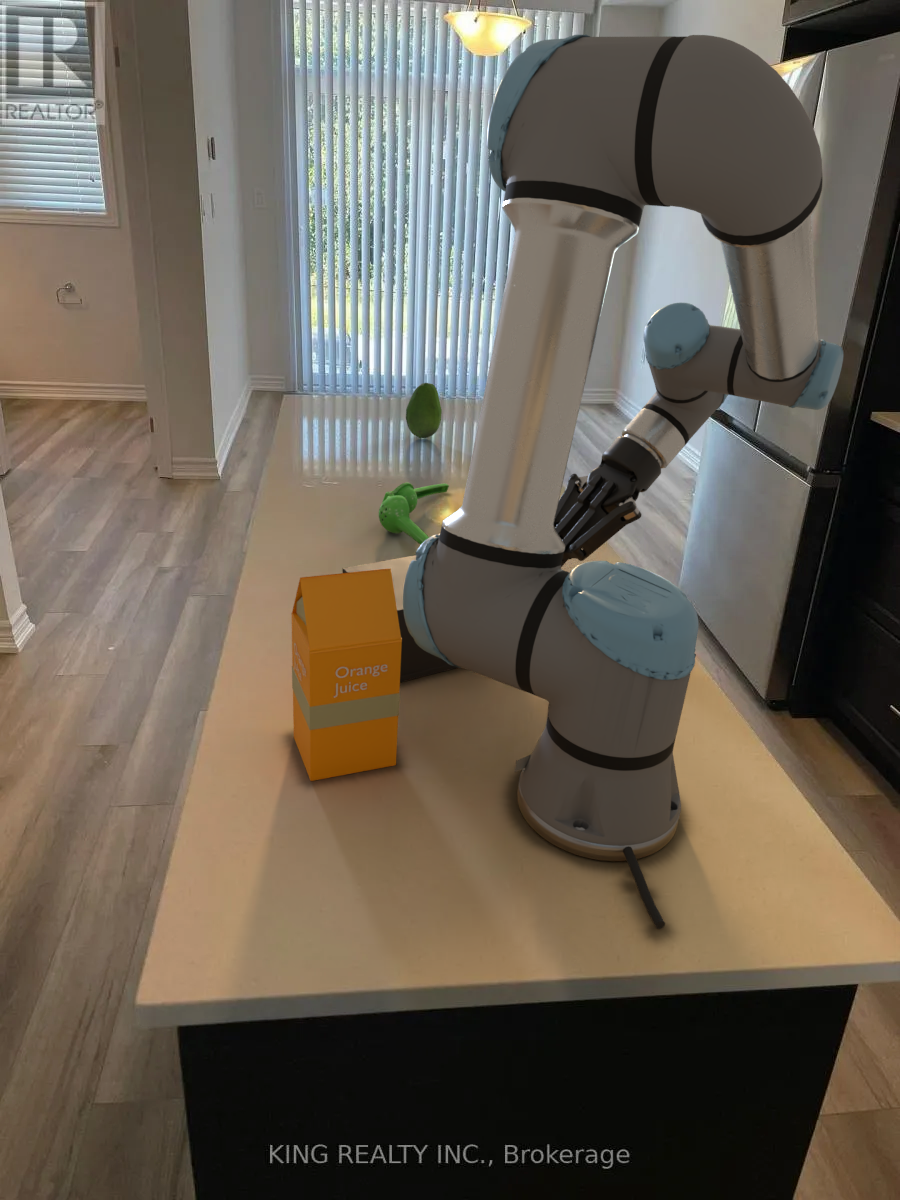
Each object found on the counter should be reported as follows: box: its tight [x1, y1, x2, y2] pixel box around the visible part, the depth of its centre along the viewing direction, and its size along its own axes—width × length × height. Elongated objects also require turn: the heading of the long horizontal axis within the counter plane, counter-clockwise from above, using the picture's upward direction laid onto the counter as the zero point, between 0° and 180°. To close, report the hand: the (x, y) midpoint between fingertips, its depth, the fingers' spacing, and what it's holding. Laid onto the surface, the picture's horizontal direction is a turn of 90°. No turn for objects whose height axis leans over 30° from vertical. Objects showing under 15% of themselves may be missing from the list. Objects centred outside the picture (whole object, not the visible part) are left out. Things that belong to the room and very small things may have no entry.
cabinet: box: [342, 554, 458, 683], centre depth 105 cm, size 15×13×10 cm
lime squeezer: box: [378, 481, 450, 546], centre depth 143 cm, size 34×12×6 cm, turn 1°
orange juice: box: [291, 568, 402, 782], centre depth 83 cm, size 8×9×20 cm
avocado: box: [405, 382, 443, 439], centre depth 188 cm, size 8×8×12 cm
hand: (524, 588), depth 113 cm, fingers closed
